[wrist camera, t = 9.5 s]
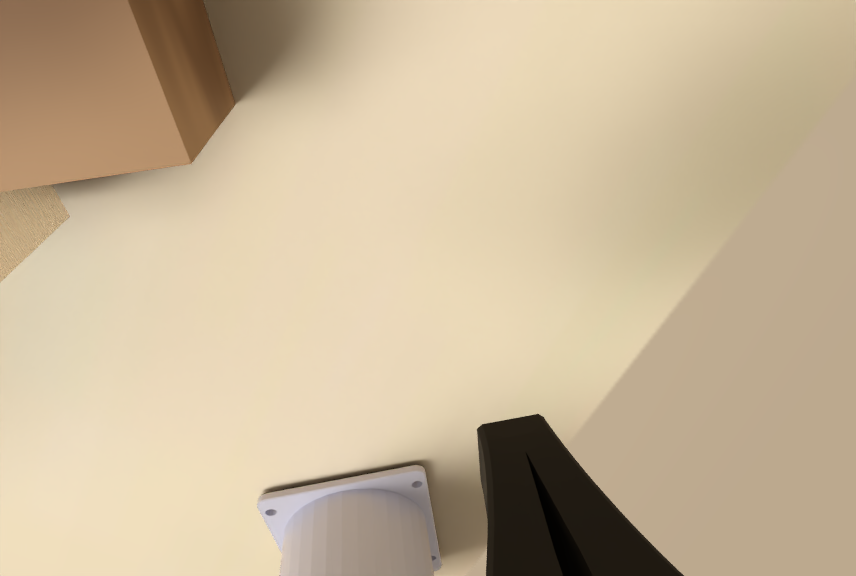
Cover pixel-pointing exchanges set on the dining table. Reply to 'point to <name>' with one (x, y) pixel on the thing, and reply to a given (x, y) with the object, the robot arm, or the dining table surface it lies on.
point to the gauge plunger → (27, 223)
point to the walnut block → (105, 88)
